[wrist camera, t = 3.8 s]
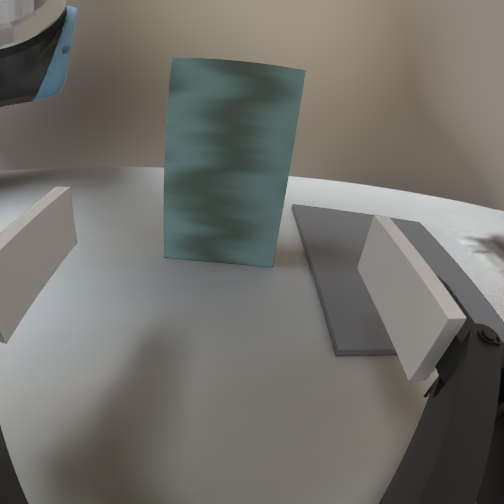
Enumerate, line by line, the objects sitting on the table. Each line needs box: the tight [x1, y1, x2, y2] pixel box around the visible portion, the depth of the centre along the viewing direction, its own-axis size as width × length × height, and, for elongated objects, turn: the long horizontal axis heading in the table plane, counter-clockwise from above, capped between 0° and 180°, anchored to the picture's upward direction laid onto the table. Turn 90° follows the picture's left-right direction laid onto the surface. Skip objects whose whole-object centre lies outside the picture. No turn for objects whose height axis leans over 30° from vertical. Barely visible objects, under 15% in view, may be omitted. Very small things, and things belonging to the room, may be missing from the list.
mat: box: [292, 204, 504, 356], centre depth 26 cm, size 16×20×1 cm
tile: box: [164, 58, 306, 267], centre depth 22 cm, size 8×3×14 cm, turn 91°
